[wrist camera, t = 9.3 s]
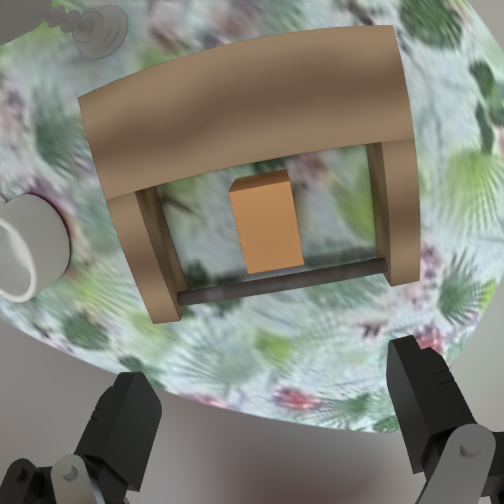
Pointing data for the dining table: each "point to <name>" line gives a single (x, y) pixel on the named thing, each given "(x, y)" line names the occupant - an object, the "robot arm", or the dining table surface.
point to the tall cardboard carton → (266, 221)
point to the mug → (30, 247)
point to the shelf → (256, 145)
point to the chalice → (66, 24)
